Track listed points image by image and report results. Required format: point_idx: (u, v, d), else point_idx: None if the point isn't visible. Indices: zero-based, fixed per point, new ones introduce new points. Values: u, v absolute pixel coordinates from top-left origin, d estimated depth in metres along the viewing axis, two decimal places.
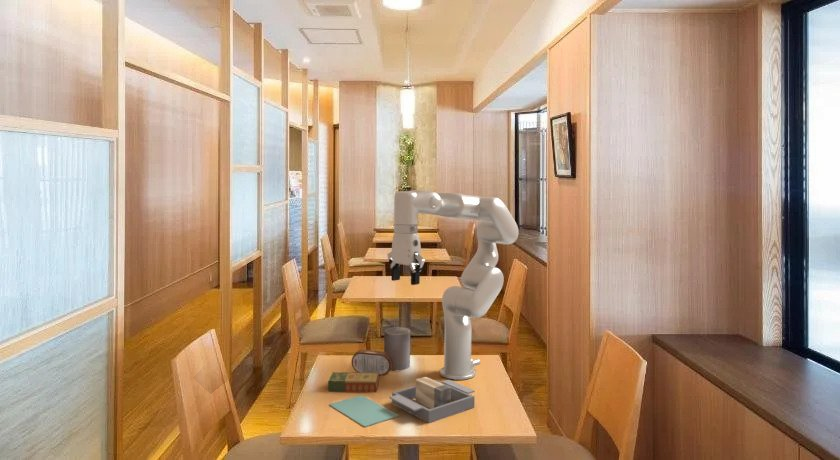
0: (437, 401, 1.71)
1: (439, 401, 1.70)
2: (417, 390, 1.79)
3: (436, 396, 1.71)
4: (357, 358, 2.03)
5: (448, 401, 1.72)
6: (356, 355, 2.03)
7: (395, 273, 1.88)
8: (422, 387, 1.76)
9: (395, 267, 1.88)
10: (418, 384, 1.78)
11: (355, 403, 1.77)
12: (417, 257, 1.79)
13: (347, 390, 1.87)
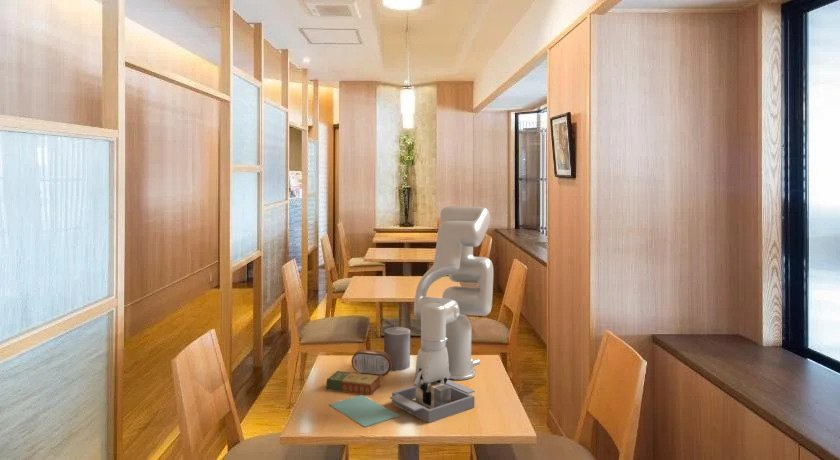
0: (437, 401, 1.71)
1: (439, 401, 1.70)
2: (417, 390, 1.79)
3: (436, 396, 1.71)
4: (357, 358, 2.03)
5: (448, 401, 1.72)
6: (356, 355, 2.03)
7: None
8: None
9: None
10: None
11: (355, 403, 1.77)
12: None
13: (344, 390, 1.87)
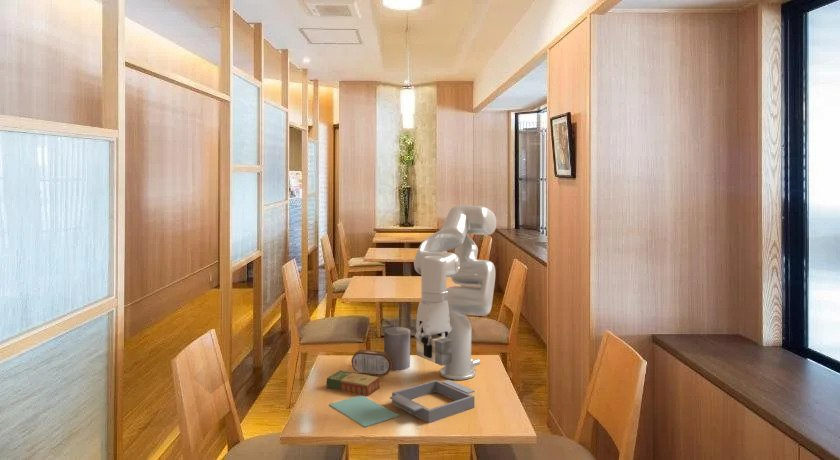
0: (438, 354, 1.70)
1: (440, 353, 1.70)
2: (418, 344, 1.78)
3: (437, 348, 1.70)
4: (357, 358, 2.03)
5: (449, 353, 1.71)
6: (356, 355, 2.03)
7: None
8: None
9: None
10: None
11: (355, 403, 1.77)
12: None
13: (342, 390, 1.87)
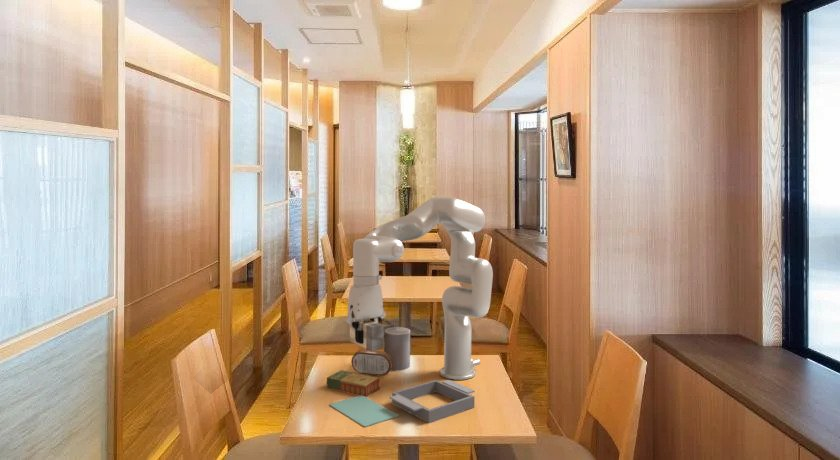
0: (369, 339, 1.65)
1: (370, 338, 1.65)
2: (351, 329, 1.73)
3: (368, 333, 1.65)
4: (357, 358, 2.03)
5: (380, 339, 1.66)
6: (356, 355, 2.03)
7: None
8: None
9: None
10: None
11: (355, 403, 1.77)
12: None
13: (342, 390, 1.87)
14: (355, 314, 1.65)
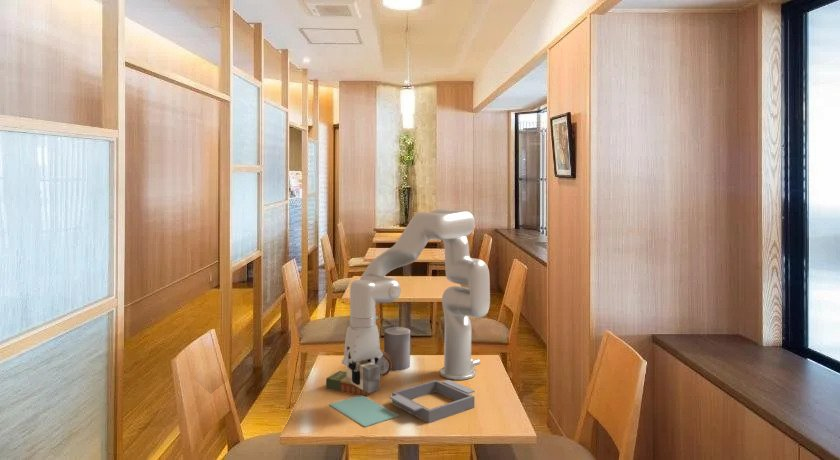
0: (365, 380, 1.66)
1: (367, 380, 1.65)
2: (348, 369, 1.74)
3: (364, 375, 1.66)
4: None
5: (377, 380, 1.67)
6: None
7: None
8: None
9: None
10: None
11: (355, 403, 1.77)
12: None
13: (342, 390, 1.87)
14: (352, 356, 1.66)
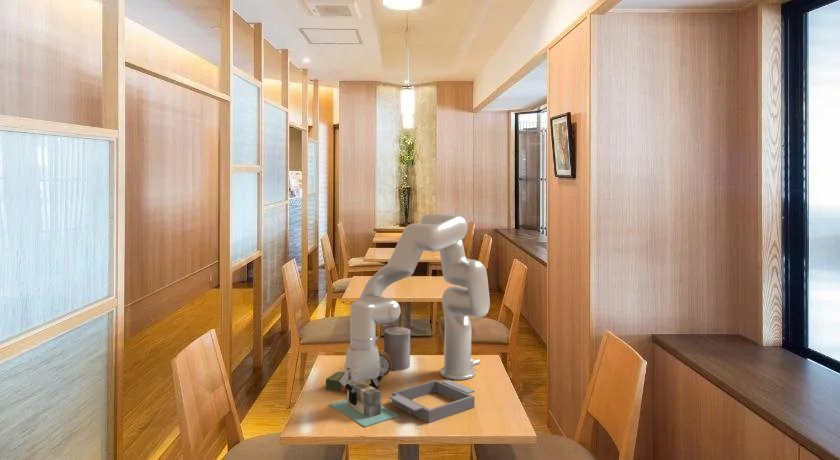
0: (366, 405, 1.67)
1: (368, 405, 1.66)
2: (348, 393, 1.74)
3: (365, 400, 1.67)
4: None
5: (378, 405, 1.68)
6: None
7: None
8: None
9: None
10: None
11: None
12: (380, 368, 1.74)
13: (342, 390, 1.86)
14: (352, 377, 1.67)
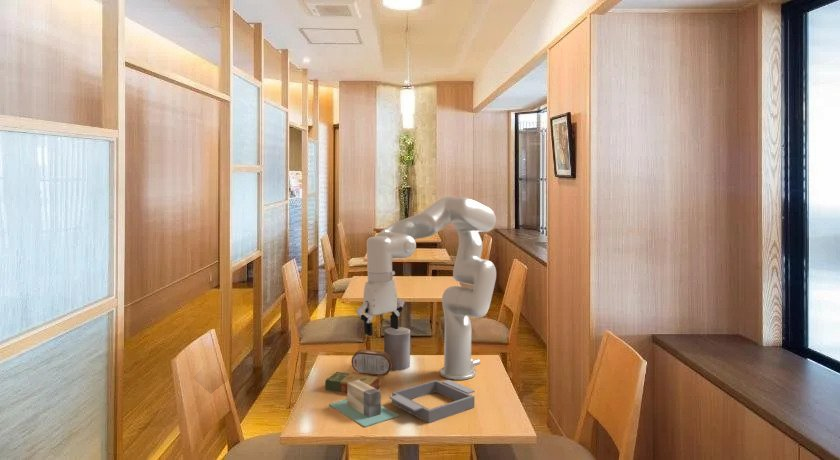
0: (366, 405, 1.67)
1: (368, 405, 1.66)
2: (348, 393, 1.74)
3: (365, 400, 1.67)
4: (357, 358, 2.03)
5: (378, 405, 1.68)
6: (356, 355, 2.03)
7: None
8: (353, 391, 1.72)
9: None
10: (349, 388, 1.74)
11: None
12: (399, 300, 1.78)
13: (342, 391, 1.86)
14: (371, 310, 1.70)
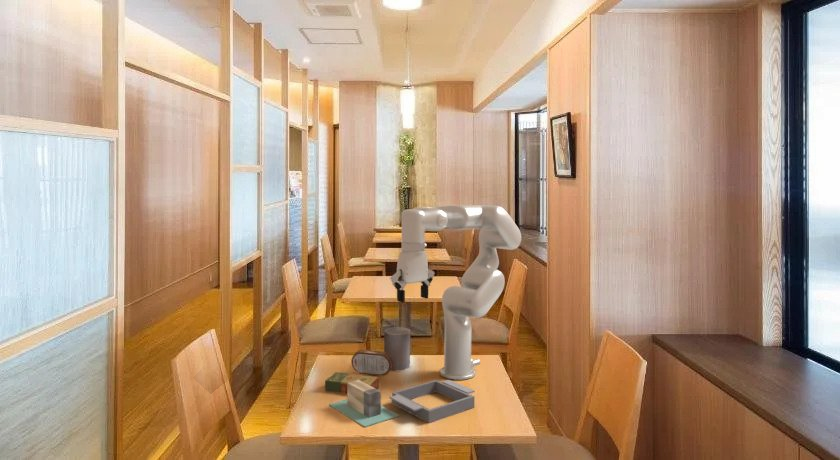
0: (366, 405, 1.67)
1: (368, 405, 1.66)
2: (348, 393, 1.74)
3: (365, 400, 1.67)
4: (357, 358, 2.03)
5: (378, 405, 1.68)
6: (356, 355, 2.03)
7: None
8: (353, 391, 1.72)
9: None
10: (349, 388, 1.74)
11: None
12: (429, 271, 1.89)
13: (342, 391, 1.86)
14: (404, 277, 1.81)
